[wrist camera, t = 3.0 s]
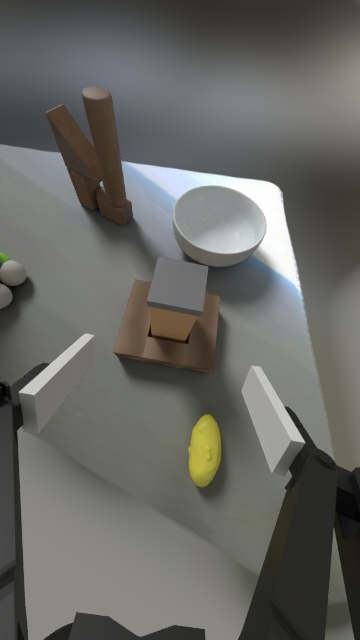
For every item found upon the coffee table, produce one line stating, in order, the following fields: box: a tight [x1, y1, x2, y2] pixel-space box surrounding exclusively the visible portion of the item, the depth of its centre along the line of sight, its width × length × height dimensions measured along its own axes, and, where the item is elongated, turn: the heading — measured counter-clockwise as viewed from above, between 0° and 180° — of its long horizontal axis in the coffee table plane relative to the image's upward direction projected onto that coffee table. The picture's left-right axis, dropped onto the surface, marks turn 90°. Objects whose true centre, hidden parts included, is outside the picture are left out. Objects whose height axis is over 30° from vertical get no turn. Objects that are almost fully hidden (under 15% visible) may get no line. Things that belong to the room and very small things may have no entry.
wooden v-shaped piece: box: [46, 86, 133, 226], centre depth 32 cm, size 4×11×18 cm, turn 61°
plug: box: [147, 256, 208, 343], centre depth 26 cm, size 5×5×14 cm
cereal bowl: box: [173, 185, 266, 267], centre depth 37 cm, size 17×17×7 cm
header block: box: [113, 279, 220, 373], centre depth 31 cm, size 14×12×4 cm
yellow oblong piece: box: [188, 414, 221, 487], centre depth 25 cm, size 4×8×4 cm, turn 165°
